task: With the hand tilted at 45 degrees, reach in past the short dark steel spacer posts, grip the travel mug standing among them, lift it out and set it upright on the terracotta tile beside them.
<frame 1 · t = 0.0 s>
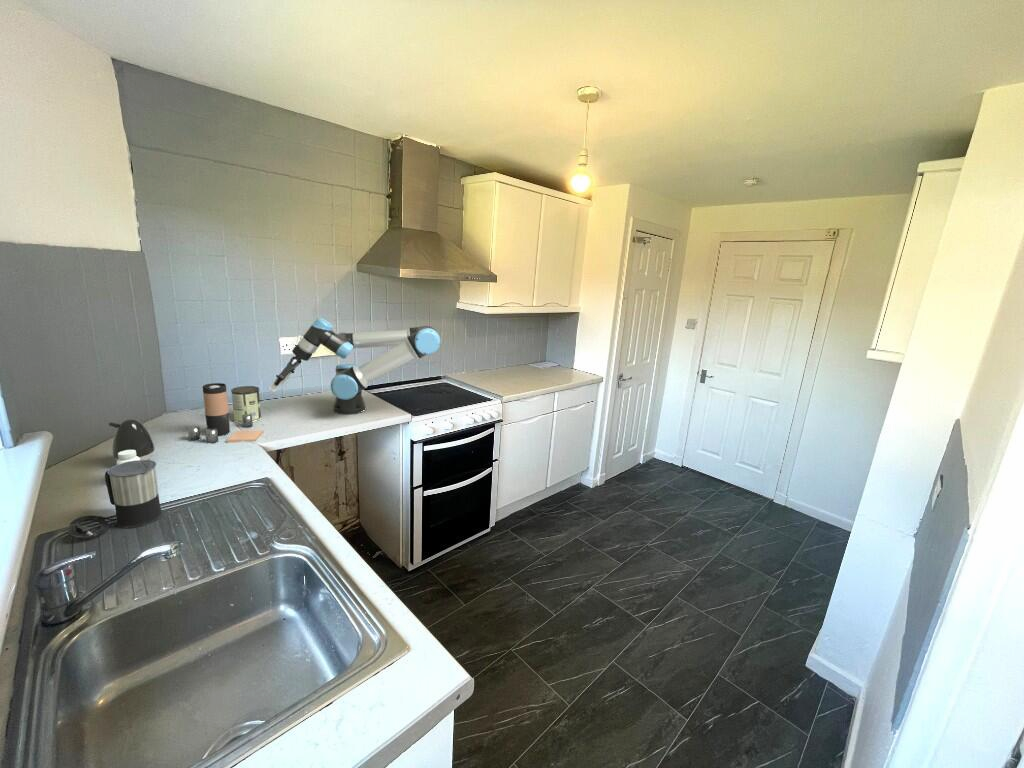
hand: (275, 386, 182), 15 cm above the worktop, tool tilted 35°, fingers open, 13 cm apart
pump dispenser: (135, 463, 137), on the worktop
terracotta tile: (245, 437, 164), on the worktop
travel mug: (219, 433, 165), on the worktop
supplement bottle: (131, 481, 126), on the worktop
coffee can: (247, 419, 183), on the worktop
spacer posts: (219, 433, 165), on the worktop
milk frother: (119, 525, 105), on the worktop
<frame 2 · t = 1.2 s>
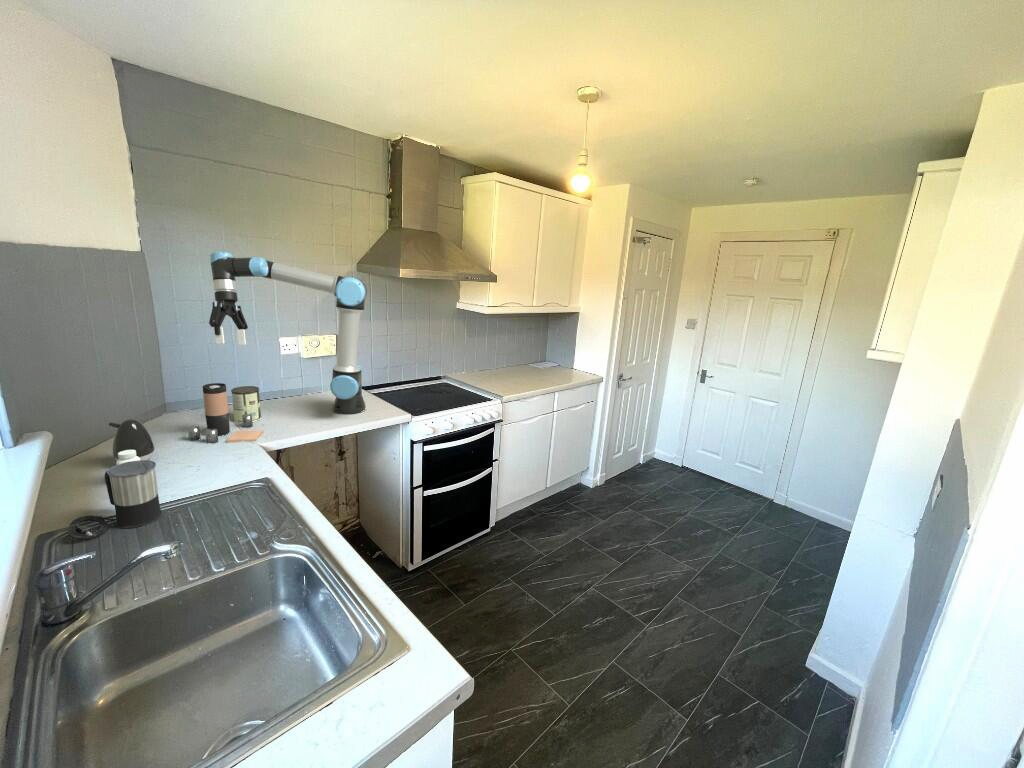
hand: (231, 344, 168), 35 cm above the worktop, tool pointing down, fingers open, 13 cm apart
nothing on the worktop moved.
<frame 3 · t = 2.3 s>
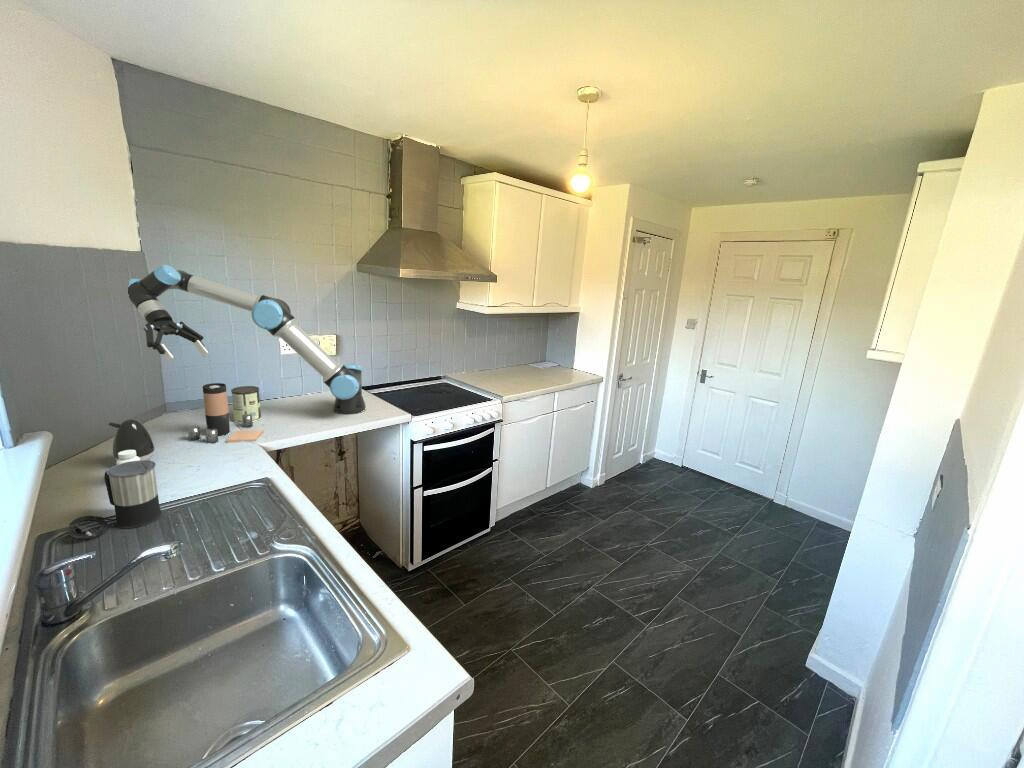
hand: (189, 357, 161), 30 cm above the worktop, tool tilted 45°, fingers open, 13 cm apart
nothing on the worktop moved.
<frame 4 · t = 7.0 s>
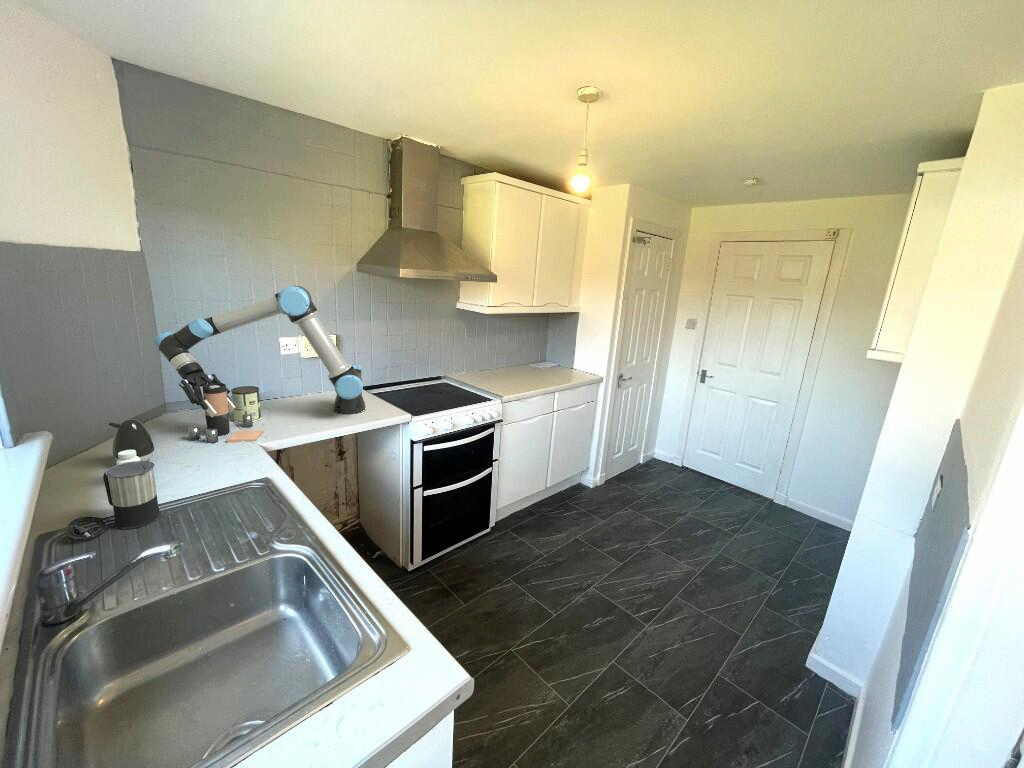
hand: (223, 412, 162), 10 cm above the worktop, tool tilted 45°, fingers closed on travel mug, 7 cm apart
travel mug: (219, 433, 165), on the worktop, touching gripper
everything else where it was.
when the fingers open (12 cm above the worktop, at t = 13.2 s): travel mug drops 1 cm, resting on terracotta tile.
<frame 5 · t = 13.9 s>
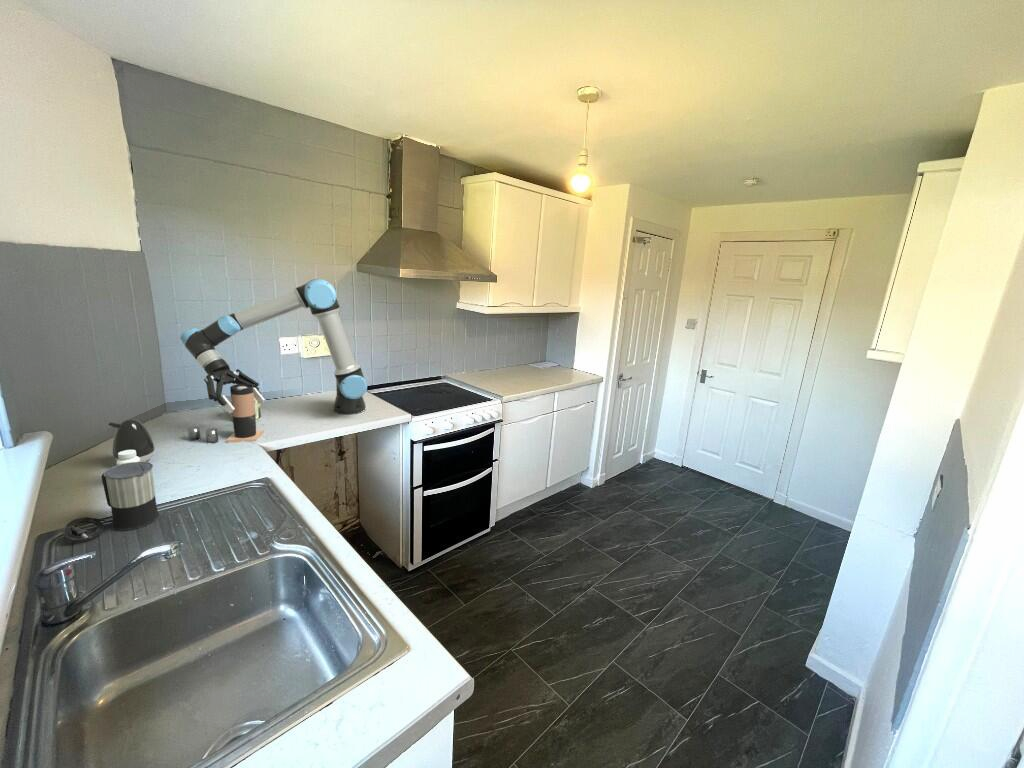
hand: (248, 406, 160), 13 cm above the worktop, tool tilted 45°, fingers open, 13 cm apart
travel mug: (245, 435, 163), point 1 cm above the worktop, touching terracotta tile
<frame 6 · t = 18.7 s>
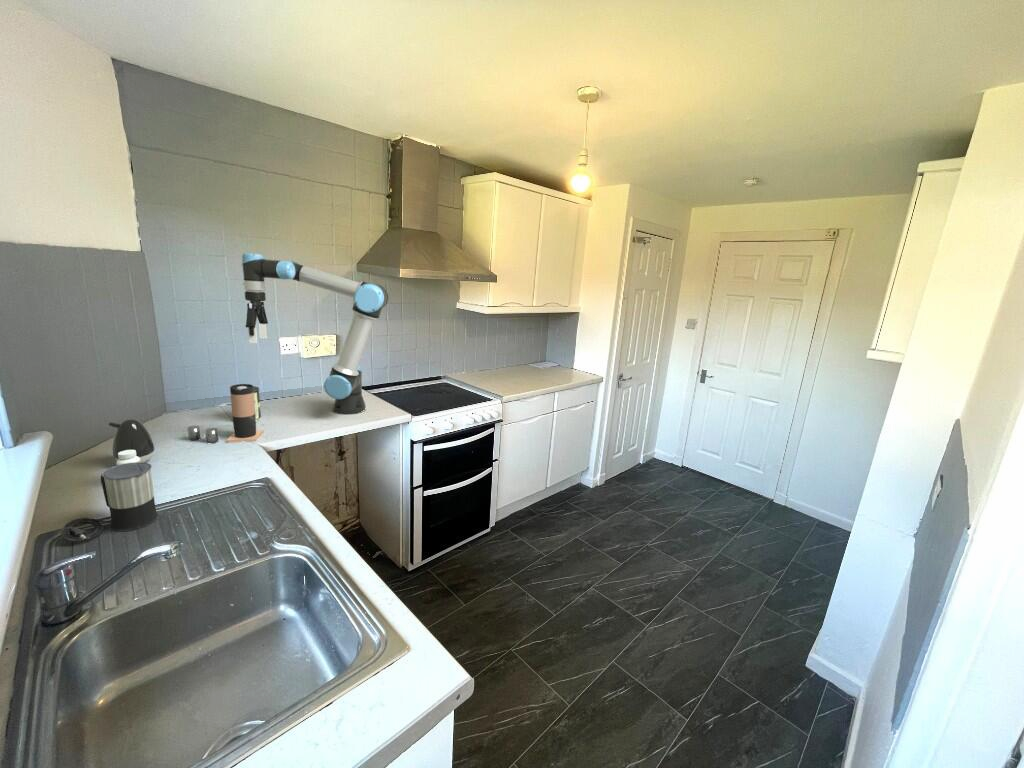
hand: (258, 340, 180), 35 cm above the worktop, tool pointing down, fingers open, 13 cm apart
at the end: travel mug inside the target area on the terracotta tile (0.0 cm from its centre), point 0.8 cm above the terracotta tile's base; travel mug tilted 0°; the gripper is holding nothing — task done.
